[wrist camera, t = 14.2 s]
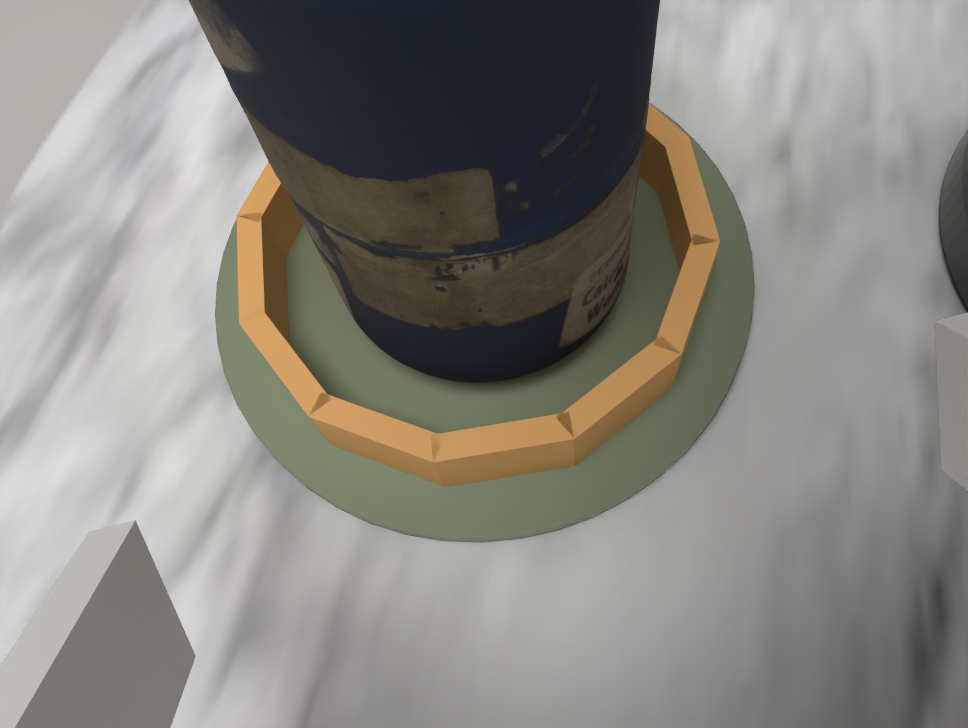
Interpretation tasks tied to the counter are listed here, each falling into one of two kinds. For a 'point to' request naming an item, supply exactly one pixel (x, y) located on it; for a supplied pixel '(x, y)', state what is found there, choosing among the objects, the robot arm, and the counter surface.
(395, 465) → the green orange round dish
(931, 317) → the counter surface
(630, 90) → the canister
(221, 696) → the counter surface
